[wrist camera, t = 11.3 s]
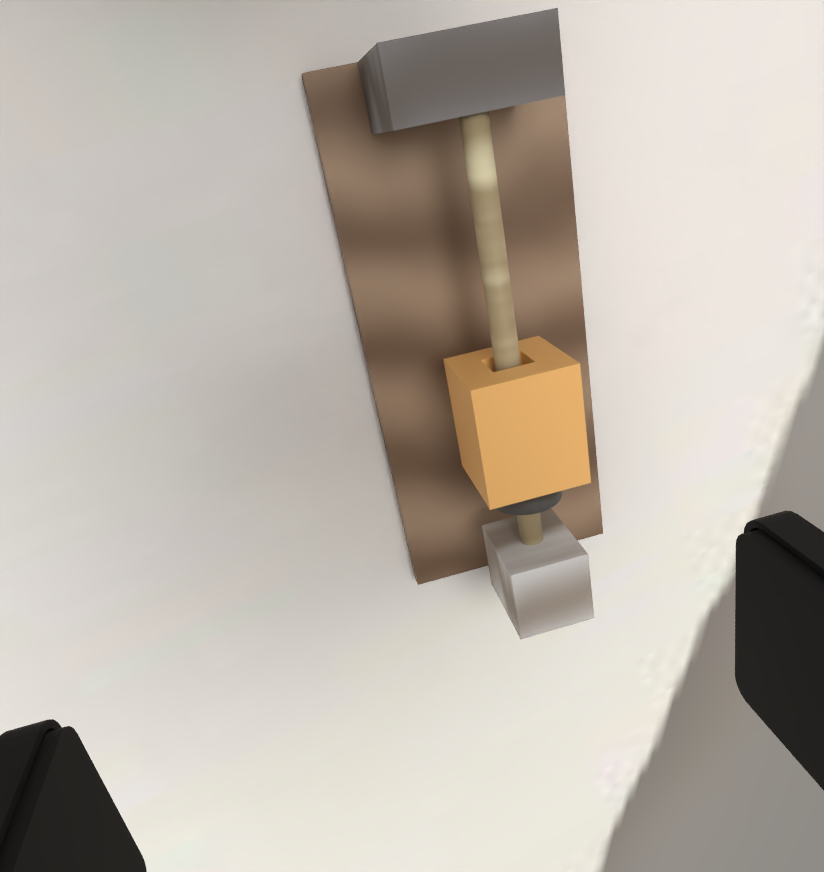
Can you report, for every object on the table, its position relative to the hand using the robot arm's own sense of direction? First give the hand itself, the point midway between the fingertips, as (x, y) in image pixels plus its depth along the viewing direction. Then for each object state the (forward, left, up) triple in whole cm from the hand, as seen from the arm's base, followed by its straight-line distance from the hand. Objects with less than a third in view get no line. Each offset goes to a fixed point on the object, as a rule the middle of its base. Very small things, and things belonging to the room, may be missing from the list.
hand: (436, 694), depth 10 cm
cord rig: (+4, +8, -28) cm, 30 cm away
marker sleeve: (+7, +8, -25) cm, 27 cm away
